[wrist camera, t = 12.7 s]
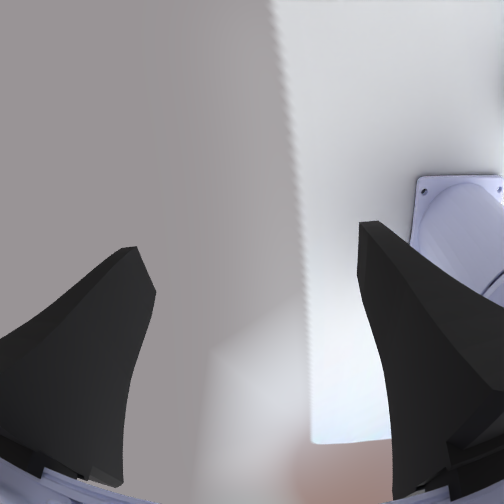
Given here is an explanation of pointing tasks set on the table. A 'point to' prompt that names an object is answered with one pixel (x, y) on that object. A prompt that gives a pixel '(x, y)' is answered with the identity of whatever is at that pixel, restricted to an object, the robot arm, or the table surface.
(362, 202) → the table surface
